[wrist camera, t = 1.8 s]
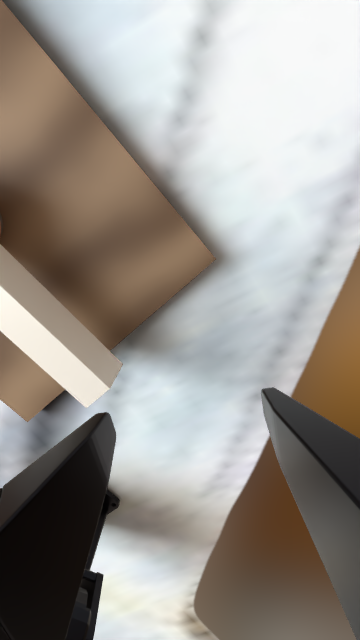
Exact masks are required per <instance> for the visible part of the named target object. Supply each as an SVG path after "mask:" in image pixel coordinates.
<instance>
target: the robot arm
mask: <svg viewBox="0 0 360 640" xmlns="http://www.w3.org/2000/svg"><path fill="white" fill-rule="evenodd" d="M261 396H262V404H263V411H264V416H265V420H266V423H267V426H268V430H269V433H270V436H271V439H272V443H273V446H274V449H275V452H276V456H277V458H278V461H279V464H280V467H281V469H282V471H283V474H284V476H285V478H286V480H287V483H288V485H289V487H290V489H291V491H292V494H293V496H294V499H295V501H296V503H297V505H298V508H299V510H300V512H301V514H302V517H303V519H304V521H305V524H306V526H307V528H308V530H309V533H310V535H311V537H312V539H313V542H314V544H315V546H316V549H317V551H318V553H319V555H320V558H321V560H322V562H323V564H324V567H325V569H326V571H327V573H328V576H329V578H330V580H331V583H332V585H333V587H334V589H335V592H336V594H337V596H338V598H339V601H340V603H341V605H342V608H343V610H344V612H345V614H346V617H347V619H348V621H349V623H350V626H351V628H352V630H353V632H354V635H355V637H356V639H357V640H360V439H359V438H358V437H356V436H354V435H353V434H351V433H349V432H348V431H346V430H344V429H343V428H341V427H339V426H338V425H336V424H334V423H333V422H331V421H329V420H328V419H326V418H324V417H322V416H321V415H319V414H318V413H316V412H314V411H313V410H311V409H309V408H308V407H306V406H304V405H303V404H301V403H299V402H298V401H296V400H294V399H293V398H291V397H289V396H288V395H286V394H284V393H283V392H281V391H279V390H277V389H276V388H273V387H272V388H266V389H262V390H261ZM115 442H116V431H115V428H114V425H113V422H112V419H111V416H110V414H109V413H107V412H104V413H98V414H95V415H94V416H93V417H92V418H90V419H89V420H88V421H86V422H85V423H84V424H82V425H81V426H80V427H79V428H77V429H76V430H75V431H73V432H72V433H71V434H70V435H68V436H67V437H66V438H64V439H63V440H62V441H61V442H59V443H58V444H57V445H55V446H54V447H53V448H52V449H50V450H49V451H48V452H46V453H45V454H44V455H43V456H41V457H40V458H39V459H37V460H36V461H35V462H34V463H32V464H31V465H30V466H28V467H27V468H26V469H25V470H23V471H22V472H21V473H19V474H18V475H17V476H16V477H14V478H13V479H12V480H10V481H9V482H8V483H7V484H5V485H4V486H3V488H0V640H93V637H94V632H95V625H96V619H97V613H98V607H99V600H100V594H101V588H102V581H103V574H101V573H98V572H97V573H94V572H92V571H90V568H91V565H92V562H93V558H94V555H95V552H96V549H97V545H98V542H99V539H100V535H101V532H102V529H103V526H104V522H105V519H106V516H107V514H109V513H110V512H112V511H113V510H115V509H116V508H118V506H119V502H120V501H119V499H118V498H117V497H115V496H114V495H113V494H112V493H111V492H109V491H108V490H107V487H108V482H109V477H110V472H111V466H112V460H113V454H114V448H115Z"/></svg>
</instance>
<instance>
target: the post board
mask: <svg viewBox="0 0 360 640" xmlns="http://www.w3.org/2000/svg"><path fill="white" fill-rule="evenodd" d="M0 225H1V236H0V244H1V245H2V246H3V247H4V248H5V249H6V250H7V251H8V252H9V253H10V254H11V255H12V256H13V257H14V258H15V259H16V260H17V261H18V262H19V263H20V264H21V265H22V266H23V267H24V268H25V269H26V270H27V271H28V272H29V273H30V274H31V275H32V276H33V277H34V278H35V279H36V280H38V281H39V282H40V283H41V284H42V285H43V286H44V287H45V288H46V289H47V290H48V291H49V292H50V293H51V294H52V295H53V296H54V297H55V298H56V299H57V300H58V301H59V302H60V303H61V304H62V305H63V306H64V307H65V308H66V309H67V310H68V311H69V312H70V313H71V314H72V315H73V316H74V317H75V318H76V319H77V320H78V321H79V322H80V323H81V324H83V325H84V326H85V327H86V328H87V329H88V330H89V331H90V332H91V333H92V334H93V335H94V336H95V337H96V338H97V339H98V340H99V341H100V342H101V343H102V344H103V345H104V346H105V347H106V348H107V349H108V350H109V351H110V350H111V349H113V348H114V347H115V346H116V345H117V344H118V343H120V342H121V341H122V340H123V339H124V338H125V337H127V336H128V335H129V334H130V333H131V332H132V331H133V330H135V329H136V328H137V327H138V326H139V325H140V324H142V323H143V322H144V321H145V320H146V319H147V318H149V317H150V316H151V315H152V314H153V313H154V312H155V311H157V310H158V309H159V308H160V307H161V306H162V305H164V304H165V303H166V302H167V301H168V300H169V299H171V298H172V297H173V296H174V295H175V294H176V293H177V292H179V291H180V290H181V289H182V288H183V287H184V286H186V285H187V284H188V283H189V282H190V281H191V280H193V279H194V278H195V277H196V276H197V275H198V274H199V273H201V272H202V271H203V270H204V269H205V268H206V267H208V266H209V265H210V264H211V263H212V262H213V261H215V260H216V258H215V257H214V256H213V255H212V253H211V252H210V251H209V250H208V249H207V247H206V246H205V245H204V244H203V243H202V241H201V240H200V239H199V238H198V236H197V235H196V234H195V233H194V232H193V230H192V229H191V228H190V227H189V226H188V224H187V223H186V222H185V221H184V220H183V218H182V217H181V216H180V215H179V214H178V212H177V211H176V210H175V209H174V207H173V206H172V205H171V204H170V203H169V201H168V200H167V199H166V198H165V197H164V195H163V194H162V193H161V192H160V191H159V189H158V188H157V187H156V186H155V185H154V183H153V182H152V181H151V180H150V178H149V177H148V176H147V175H146V174H145V172H144V171H143V170H142V169H141V168H140V166H139V165H138V164H137V163H136V162H135V160H134V159H133V158H132V157H131V156H130V154H129V153H128V152H127V151H126V150H125V148H124V147H123V146H122V145H121V143H120V142H119V141H118V140H117V139H116V137H115V136H114V135H113V134H112V133H111V131H110V130H109V129H108V128H107V127H106V125H105V124H104V123H103V122H102V121H101V119H100V118H99V117H98V116H97V114H96V113H95V112H94V111H93V110H92V108H91V107H90V106H89V105H88V104H87V102H86V101H85V100H84V99H83V98H82V96H81V95H80V94H79V93H78V92H77V90H76V89H75V88H74V87H73V85H72V84H71V83H70V82H69V81H68V79H67V78H66V77H65V76H64V75H63V73H62V72H61V71H60V70H59V69H58V67H57V66H56V65H55V64H54V63H53V61H52V60H51V59H50V58H49V57H48V55H47V54H46V53H45V52H44V50H43V49H42V48H41V47H40V46H39V44H38V43H37V42H36V41H35V40H34V38H33V37H32V36H31V35H30V34H29V32H28V31H27V30H26V29H25V28H24V26H23V25H22V24H21V23H20V21H19V20H18V19H17V18H16V17H15V15H14V14H13V13H12V12H11V11H10V9H9V8H8V7H7V6H6V5H5V3H4V2H3V1H2V0H0ZM64 390H65V389H64V388H63V387H62V386H61V385H60V384H59V383H58V382H57V381H56V380H54V379H53V378H52V377H51V376H50V375H49V374H48V373H47V372H45V371H44V370H43V369H42V368H41V367H40V366H39V365H38V364H37V363H35V362H34V361H33V360H32V359H31V358H30V357H29V356H28V355H27V354H25V353H24V352H23V351H22V350H21V349H20V348H19V347H18V346H16V345H15V344H14V343H13V342H12V341H11V340H10V339H9V338H8V337H6V336H5V335H4V334H3V333H2V332H1V331H0V400H1V401H3V402H4V403H5V404H6V405H7V406H9V407H10V408H11V409H12V410H13V411H15V412H16V413H17V414H18V415H19V416H21V417H22V418H23V419H24V420H25V421H27V422H28V421H29V420H30V419H32V418H33V417H34V416H35V415H36V414H37V413H38V412H40V411H41V410H42V409H43V408H44V407H45V406H47V405H48V404H49V403H50V402H51V401H52V400H54V399H55V398H56V397H57V396H58V395H59V394H60V393H62V392H63V391H64Z"/></svg>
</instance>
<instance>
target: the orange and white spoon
mask: <svg viewBox="0 0 360 640" xmlns="http://www.w3.org/2000/svg"><path fill="white" fill-rule="evenodd" d="M0 236H1V225H0ZM0 331H1V332H2V333H3V334H4V335H5V336H6V337H8V338H9V339H10V340H11V341H12V342H13V343H14V344H15V345H16V346H18V347H19V348H20V349H21V350H22V351H23V352H24V353H25V354H27V355H28V356H29V357H30V358H31V359H32V360H33V361H34V362H35V363H37V364H38V365H39V366H40V367H41V368H42V369H43V370H44V371H45V372H47V373H48V374H49V375H50V376H51V377H52V378H53V379H54V380H56V381H57V382H58V383H59V384H60V385H61V386H62V387H63V388H64V389H66V390H67V391H68V392H69V393H70V394H71V395H72V396H73V397H74V398H76V399H77V400H78V401H79V402H80V403H81V404H82V405H83V406H85V407H86V408H87V407H88V406H90V405H91V404H92V403H93V402H94V401H96V400H97V399H98V398H99V397H101V396H102V395H103V394H104V393H105V392H107V391H108V390H109V389H110V388H111V386H112V384H113V382H114V380H115V378H116V377H117V375H118V373H119V371H120V369H121V367H122V365H123V364H122V363H121V362H120V361H119V360H118V359H117V358H116V357H115V356H114V355H113V354H112V353H111V352H110V351H109V350H108V349H107V348H106V347H105V346H104V345H103V344H102V343H101V342H100V341H99V340H98V339H97V338H96V337H95V336H94V335H93V334H92V333H91V332H90V331H89V330H88V329H87V328H86V327H85V326H84V325H83V324H81V323H80V322H79V321H78V320H77V319H76V318H75V317H74V316H73V315H72V314H71V313H70V312H69V311H68V310H67V309H66V308H65V307H64V306H63V305H62V304H61V303H60V302H59V301H58V300H57V299H56V298H55V297H54V296H53V295H52V294H51V293H50V292H49V291H48V290H47V289H46V288H45V287H44V286H43V285H42V284H41V283H40V282H39V281H38V280H36V279H35V278H34V277H33V276H32V275H31V274H30V273H29V272H28V271H27V270H26V269H25V268H24V267H23V266H22V265H21V264H20V263H19V262H18V261H17V260H16V259H15V258H14V257H13V256H12V255H11V254H10V253H9V252H8V251H7V250H6V249H5V248H4V247H3V246H2V245H1V244H0Z"/></svg>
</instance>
